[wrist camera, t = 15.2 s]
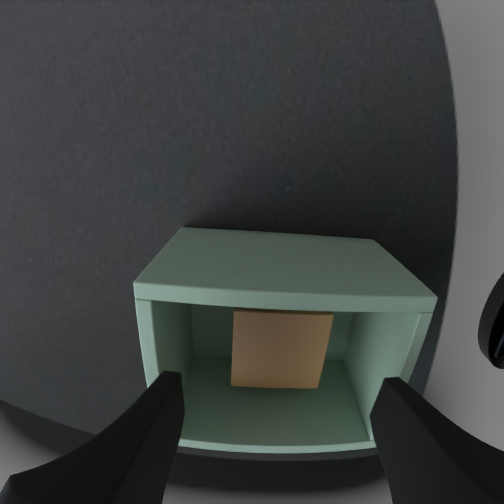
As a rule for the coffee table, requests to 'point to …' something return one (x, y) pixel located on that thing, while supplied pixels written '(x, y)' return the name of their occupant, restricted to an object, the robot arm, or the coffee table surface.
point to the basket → (284, 298)
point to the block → (279, 347)
